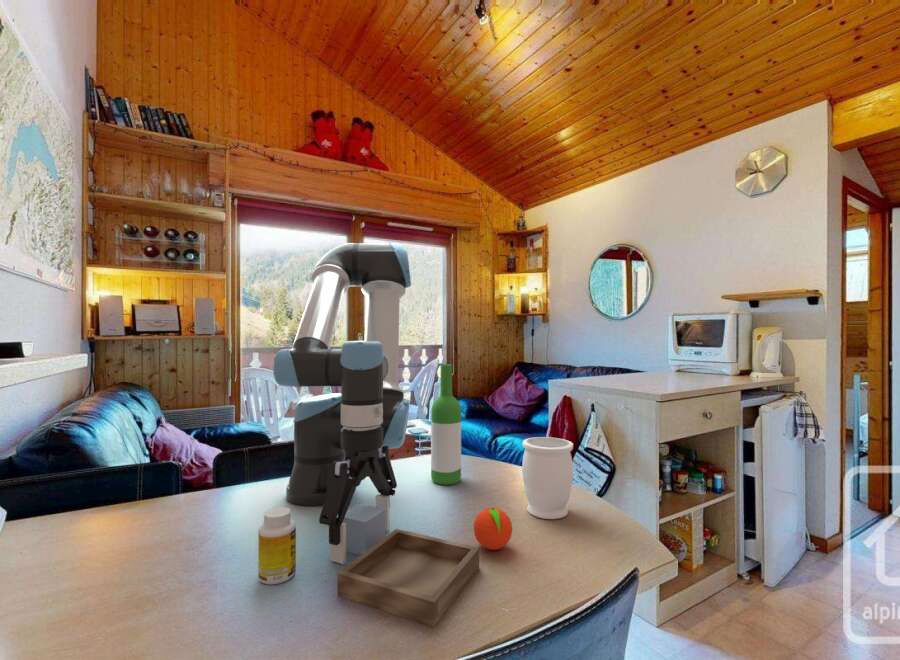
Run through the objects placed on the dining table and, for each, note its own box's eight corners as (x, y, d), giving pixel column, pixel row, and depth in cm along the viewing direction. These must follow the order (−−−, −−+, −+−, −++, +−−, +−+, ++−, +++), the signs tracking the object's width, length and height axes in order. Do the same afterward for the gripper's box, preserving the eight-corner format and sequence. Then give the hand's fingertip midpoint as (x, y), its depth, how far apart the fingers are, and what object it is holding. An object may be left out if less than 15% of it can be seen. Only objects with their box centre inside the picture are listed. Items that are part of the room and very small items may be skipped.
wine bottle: (467, 480, 114) (467, 364, 114) (447, 488, 109) (447, 366, 108) (444, 473, 120) (445, 362, 119) (424, 481, 114) (424, 364, 114)
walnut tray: (337, 595, 65) (337, 573, 65) (396, 547, 79) (396, 528, 79) (434, 627, 58) (434, 602, 58) (479, 568, 73) (479, 547, 73)
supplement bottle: (296, 582, 68) (296, 516, 68) (257, 589, 67) (257, 521, 66) (295, 564, 74) (295, 502, 74) (259, 570, 72) (259, 507, 72)
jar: (568, 503, 99) (568, 436, 99) (577, 523, 89) (577, 449, 89) (520, 501, 100) (520, 435, 100) (523, 521, 90) (524, 447, 90)
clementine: (519, 558, 76) (519, 517, 75) (479, 562, 74) (479, 520, 74) (505, 537, 83) (506, 499, 83) (469, 539, 82) (469, 501, 82)
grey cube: (337, 549, 79) (338, 515, 79) (358, 535, 84) (358, 503, 84) (365, 557, 76) (365, 522, 76) (385, 541, 82) (385, 509, 82)
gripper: (333, 444, 67) (333, 584, 67) (414, 415, 90) (414, 521, 90) (296, 438, 71) (295, 572, 71) (383, 412, 93) (382, 514, 93)
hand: (361, 544), depth 80 cm, fingers open, 12 cm apart
